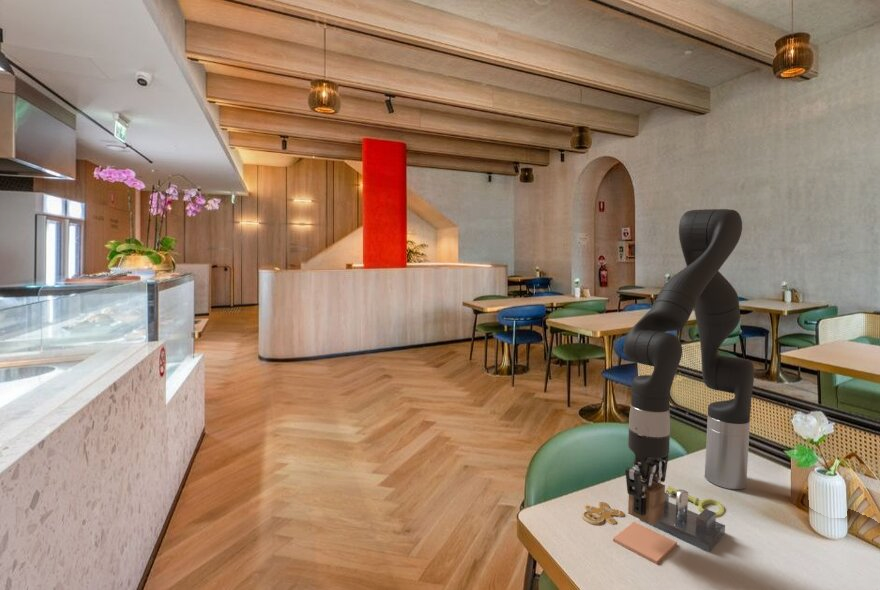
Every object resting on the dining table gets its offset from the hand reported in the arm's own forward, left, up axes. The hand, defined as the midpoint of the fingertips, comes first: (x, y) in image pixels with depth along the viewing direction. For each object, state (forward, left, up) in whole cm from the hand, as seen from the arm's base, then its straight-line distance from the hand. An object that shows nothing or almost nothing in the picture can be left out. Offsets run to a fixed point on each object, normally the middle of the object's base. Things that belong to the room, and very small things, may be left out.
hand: (646, 508), depth 89 cm
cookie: (-2, -11, -8) cm, 14 cm away
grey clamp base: (-12, +2, -8) cm, 14 cm away
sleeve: (0, 0, -1) cm, 1 cm away
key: (-24, +1, -8) cm, 25 cm away
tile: (0, 0, -8) cm, 8 cm away
